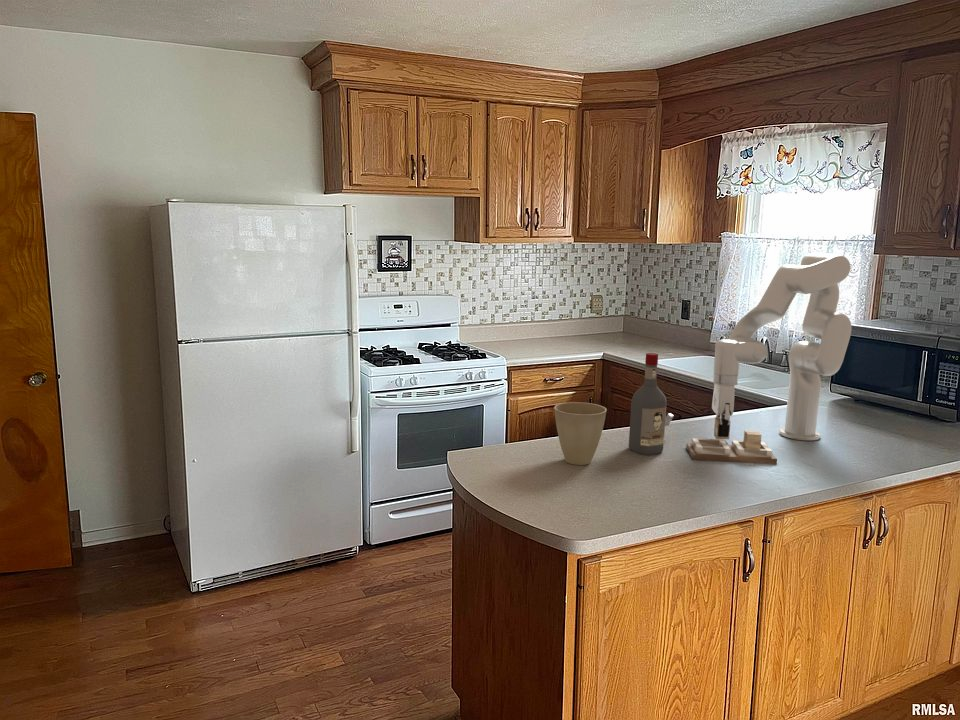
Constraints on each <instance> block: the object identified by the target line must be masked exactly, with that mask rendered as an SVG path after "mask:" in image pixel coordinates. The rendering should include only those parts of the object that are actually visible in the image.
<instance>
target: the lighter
mask: <svg viewBox="0 0 960 720" xmlns="http://www.w3.org/2000/svg"><path fill="white" fill-rule="evenodd" d="M673 418H674V414H672V412H670V413H667V414H666V417H665V427H668V426H670V423H672V420H673ZM665 432H666V430H665V431H664V436H666V435H665Z"/></svg>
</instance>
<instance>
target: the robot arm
mask: <svg viewBox="0 0 960 720" xmlns="http://www.w3.org/2000/svg"><path fill="white" fill-rule="evenodd" d="M850 273H851V262H850V261H849V259H848V258H847V257H845V256H844V255H841V254H835V253H834V254H833V253H823V252H812V253H811V252H810V253H808V254H805V255H804V256H803V258H802V259H801V263H800V265H797V264H785V265H782V266H780V267H779V268H778V269H777V270H776V272H775V274H774V276H773V278H772V279H771V281H770V283H769V284H768V287H767V288H766V289H765V292H764V293H763V295H762V296H761V297H762V298H761V299H760V301H759V302H758V304H757V305H756V306H755V307H754V308H752V309H751V310H749V311H748V312H747V313H746V314H745V315H744V316H743V317H741V319H739V321H738V322H737V323H736V324H735V326H734V327H733V329H732V331H731V333H730V335H729V337H728V339H719V340H717V341H716V342H715V346H714V347H715V348H714V359H713V360H714V362H713V374H712V375H713V376H712V377H713V378H712V383H713V384H714V386H713V393H712V394H713V395H712V403H711V409H712V411H713V412H714V413H715V415H716V416H715V417H716V418H720V424H719V427H718V436H719V437H728V436H729V437H730V435H729V421H730V422H731V420H730V419H731V417H732V416H733V415H734V408H735V386H738V384H739V373H740V371H739V370H740V363H741V364H742V363H743V364H752V365H755V364H760V363H761V362H763V361H764V360H765V359H766V358H767V355H768V349H767V346H766V344H765V343H763V342H761V341H759V340H757V339H754V338H753V336H754V335H755V334H756V332H758V330H759V329H761V328H762V327H764V326H766V325H768V324H771V323H774V322H776V321H779V320H780V319H783V318H784V317H785V315H786V313H787V311H788V309H789V308H790V306H791V304H792V302H793V300H794V299H795V297H796V295H797V294H803V295H809V294H810V295H809V300H808V303H807V307H806V311H805V313H804V317H803V321H802V331H803V333H804V335H806V336H808V337H810V338H814V339H817V340H820V343H818V342H816V341H810V340H801V341H798V342H796V343H795V344H793V345H792V347H791V348H790V350H789V353H788V364H789V383H788V393H787V403H786V414H785V423H784V427H781V428H779V434H780V435H781V436H782V437H785V438H787V439H788V438H789V439H792V440H796V441H797V440H798V441H806V442H807V441H818V440H819V439H821V433H820V432H818V431H817V424H818V423H817V422H818V415H819V414H818V413H819V406H820V397H821V396H820V395H821V390H822V389H821V388H822V387H821V385H822V380H821V377H820V376H823V377H831V376H834V375H835V374H836V373H838V371H839V370H840V369H841V366H842V364H843V363H844V359H845V355H846V352H847V349H848V346H849V342H850V339H851V334H852V323H851V319H850V318H849V317H848V316H847V314H844V313H842V312H840V311H839V312H838V311H837V308H838V304H839V299H840V289H839V286H838V284H839V283H842V282H843V281H845V280H846V278H848V276H849V275H850ZM722 418H723V419H722Z"/></svg>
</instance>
